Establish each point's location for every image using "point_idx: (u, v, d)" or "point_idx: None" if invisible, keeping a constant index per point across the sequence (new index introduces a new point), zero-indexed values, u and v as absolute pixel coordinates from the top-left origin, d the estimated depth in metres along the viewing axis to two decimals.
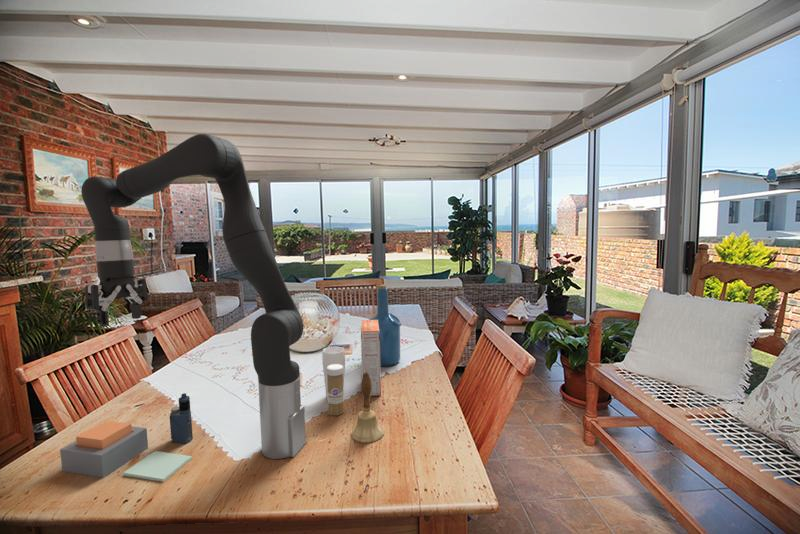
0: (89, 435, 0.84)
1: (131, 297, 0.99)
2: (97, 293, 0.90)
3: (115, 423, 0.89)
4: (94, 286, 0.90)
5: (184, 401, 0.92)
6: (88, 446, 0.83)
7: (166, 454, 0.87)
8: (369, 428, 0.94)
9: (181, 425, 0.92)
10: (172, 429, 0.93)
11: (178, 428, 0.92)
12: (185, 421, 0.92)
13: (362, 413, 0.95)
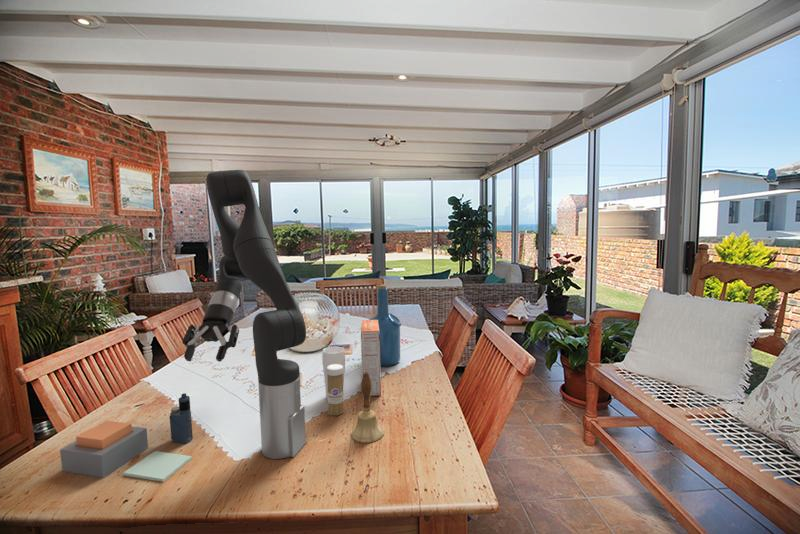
0: (89, 435, 0.84)
1: None
2: (190, 331, 1.08)
3: (115, 423, 0.89)
4: (190, 325, 1.09)
5: (184, 401, 0.92)
6: (88, 446, 0.83)
7: (166, 454, 0.87)
8: (369, 428, 0.94)
9: (181, 425, 0.92)
10: (172, 429, 0.93)
11: (178, 428, 0.92)
12: (185, 421, 0.92)
13: (362, 413, 0.95)
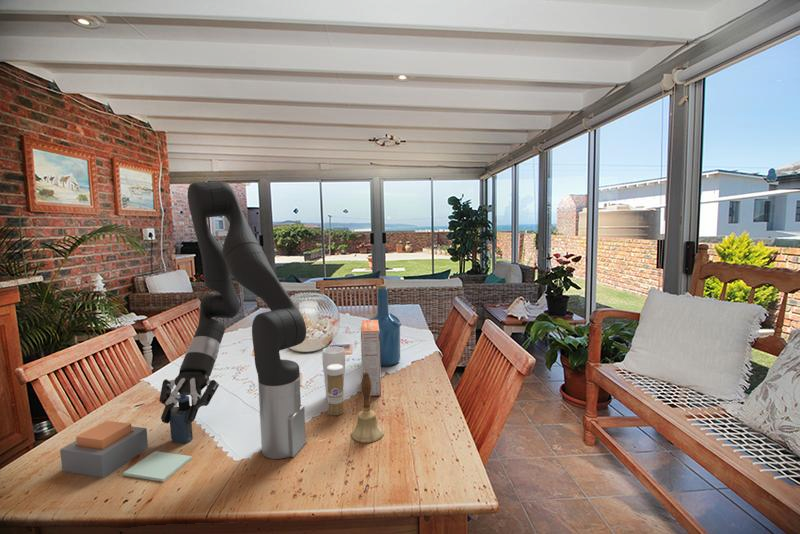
0: (89, 435, 0.84)
1: None
2: (165, 386, 0.96)
3: (115, 423, 0.89)
4: (164, 380, 0.97)
5: (184, 401, 0.92)
6: (88, 446, 0.83)
7: (166, 454, 0.87)
8: (369, 428, 0.94)
9: (181, 425, 0.92)
10: (172, 429, 0.93)
11: (177, 428, 0.92)
12: None
13: (362, 413, 0.95)
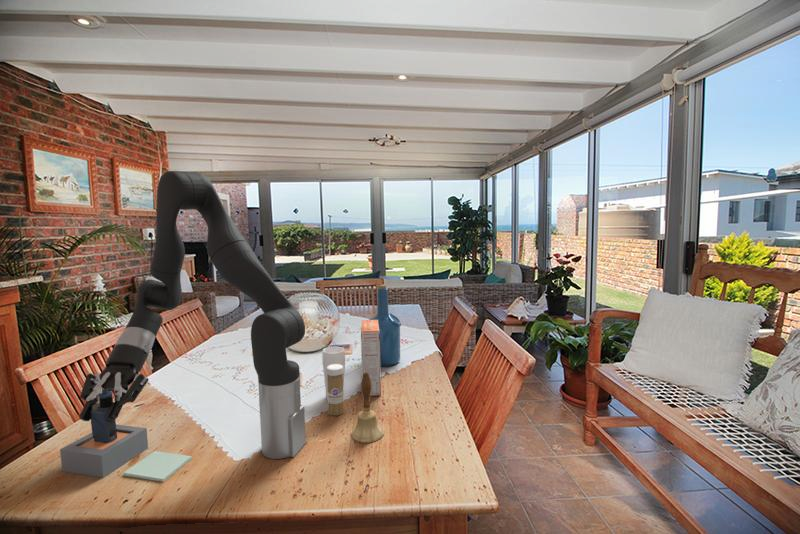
0: (90, 446, 0.84)
1: None
2: (89, 381, 0.88)
3: None
4: (88, 375, 0.89)
5: (105, 397, 0.84)
6: None
7: (166, 454, 0.87)
8: (369, 428, 0.94)
9: (102, 423, 0.84)
10: (93, 427, 0.85)
11: (99, 427, 0.85)
12: None
13: (362, 413, 0.95)
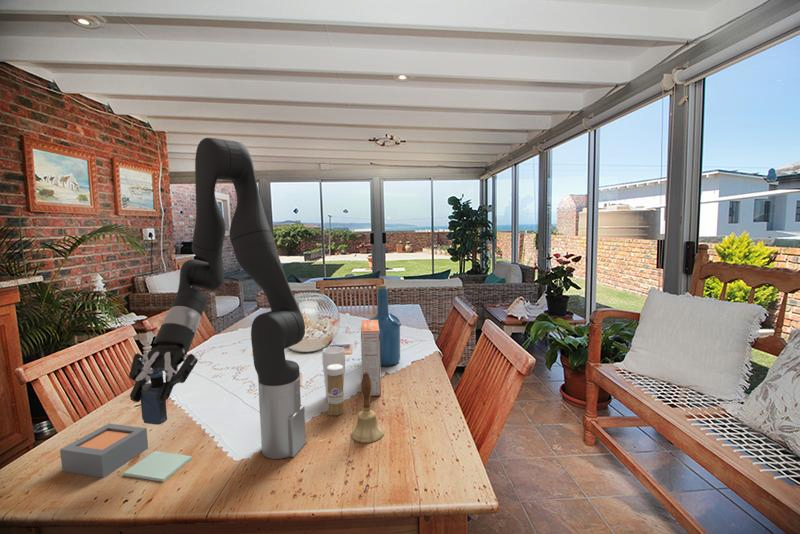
0: (90, 446, 0.84)
1: None
2: (137, 361, 0.85)
3: (116, 433, 0.89)
4: (135, 355, 0.86)
5: (156, 377, 0.80)
6: None
7: (166, 454, 0.87)
8: (369, 428, 0.94)
9: (153, 404, 0.81)
10: (143, 408, 0.81)
11: (149, 408, 0.81)
12: None
13: (362, 413, 0.95)
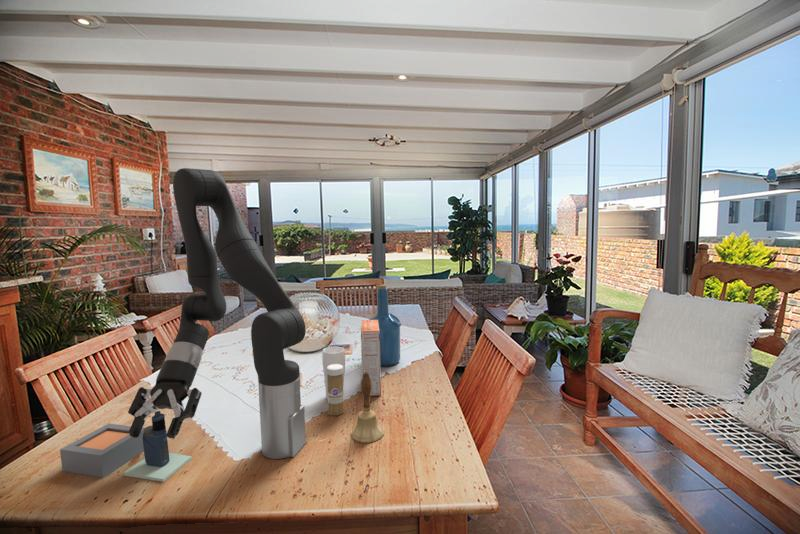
0: (90, 446, 0.84)
1: None
2: (139, 396, 0.86)
3: (116, 433, 0.89)
4: (140, 388, 0.87)
5: (158, 420, 0.81)
6: None
7: None
8: (369, 428, 0.94)
9: (156, 447, 0.82)
10: (146, 451, 0.83)
11: (152, 450, 0.82)
12: (160, 442, 0.82)
13: (362, 413, 0.95)
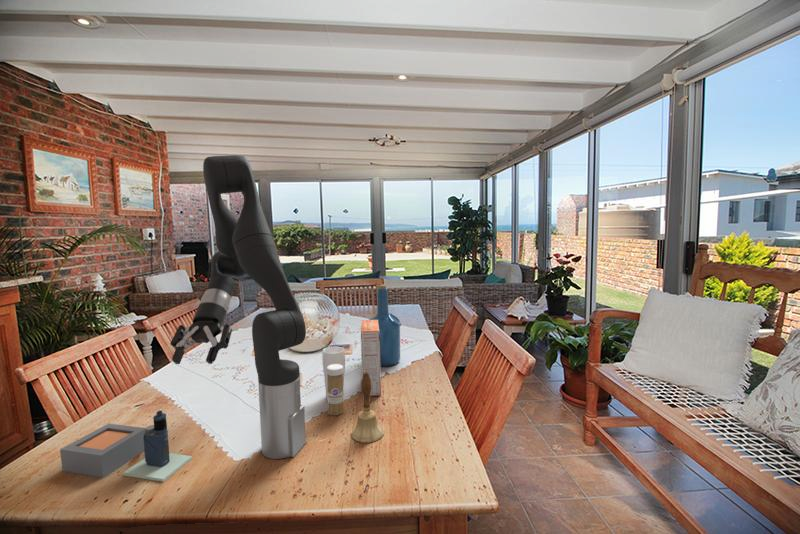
0: (90, 446, 0.84)
1: None
2: (179, 331, 1.01)
3: (116, 433, 0.89)
4: (179, 326, 1.02)
5: (159, 420, 0.82)
6: None
7: None
8: (369, 428, 0.94)
9: (156, 446, 0.82)
10: (146, 451, 0.83)
11: (152, 450, 0.82)
12: (160, 442, 0.82)
13: (362, 413, 0.95)
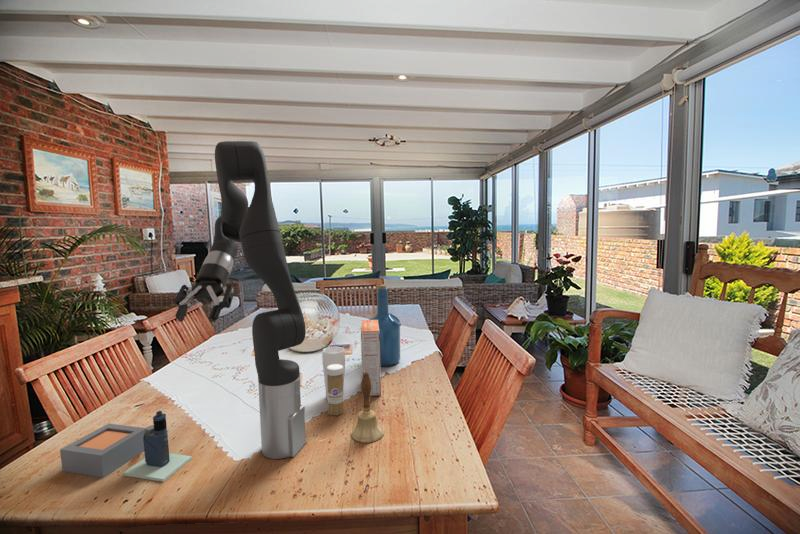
0: (90, 446, 0.84)
1: None
2: (182, 291, 1.02)
3: (116, 433, 0.89)
4: (183, 285, 1.03)
5: (159, 420, 0.82)
6: None
7: None
8: (369, 428, 0.94)
9: (156, 447, 0.82)
10: (146, 451, 0.83)
11: (152, 450, 0.82)
12: (160, 442, 0.82)
13: (362, 413, 0.95)
